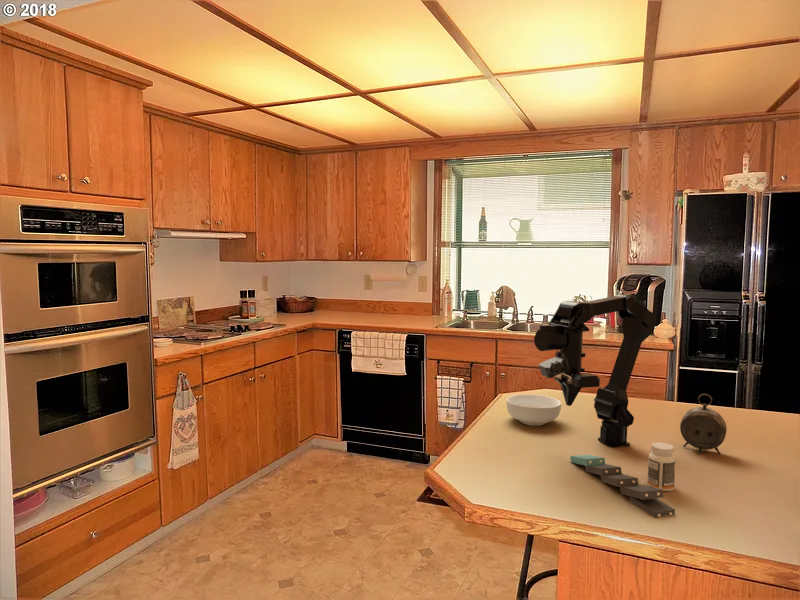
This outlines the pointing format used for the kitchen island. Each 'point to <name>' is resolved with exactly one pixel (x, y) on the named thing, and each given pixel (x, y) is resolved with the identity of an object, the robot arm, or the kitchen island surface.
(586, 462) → the domino
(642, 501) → the domino
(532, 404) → the cereal bowl
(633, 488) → the domino
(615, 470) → the domino
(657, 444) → the pill bottle
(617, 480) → the domino
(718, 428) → the alarm clock
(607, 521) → the kitchen island surface
